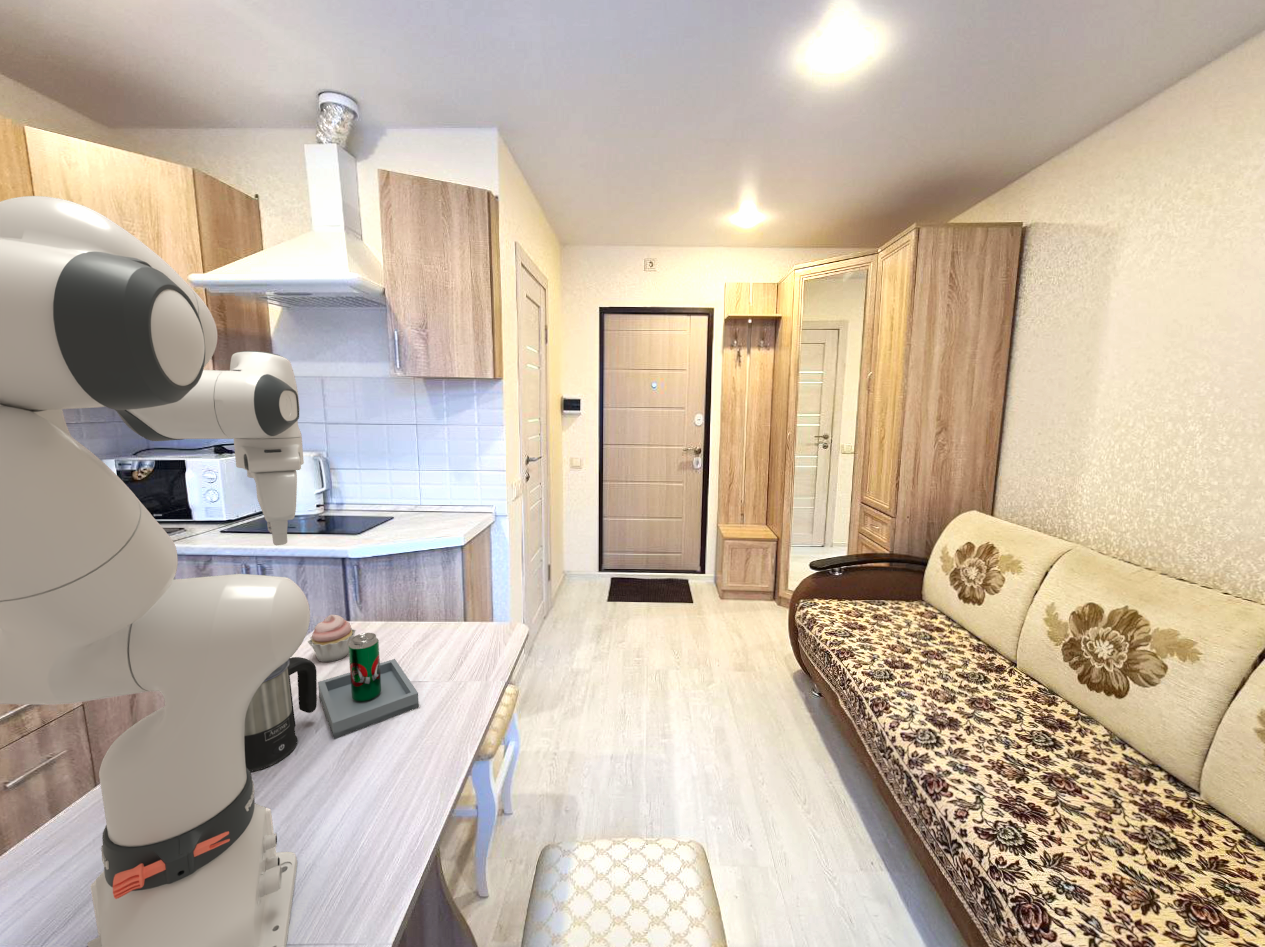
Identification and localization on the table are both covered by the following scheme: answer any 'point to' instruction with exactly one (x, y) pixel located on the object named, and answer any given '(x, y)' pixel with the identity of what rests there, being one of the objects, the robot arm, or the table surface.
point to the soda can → (364, 667)
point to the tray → (358, 715)
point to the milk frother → (277, 713)
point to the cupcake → (331, 638)
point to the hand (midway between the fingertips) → (277, 537)
